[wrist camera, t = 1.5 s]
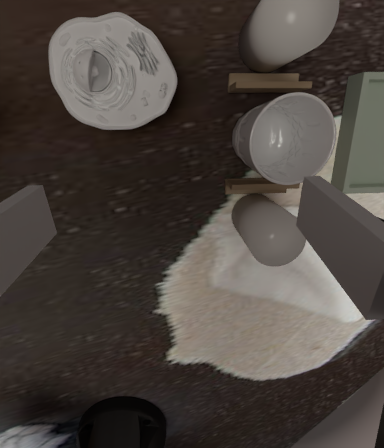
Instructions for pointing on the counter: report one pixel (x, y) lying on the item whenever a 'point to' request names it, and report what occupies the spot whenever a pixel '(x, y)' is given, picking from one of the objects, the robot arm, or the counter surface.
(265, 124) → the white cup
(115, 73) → the cell model
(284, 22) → the white pillar candle
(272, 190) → the rack
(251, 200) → the grey tapered cylinder
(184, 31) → the counter surface
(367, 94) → the tray
